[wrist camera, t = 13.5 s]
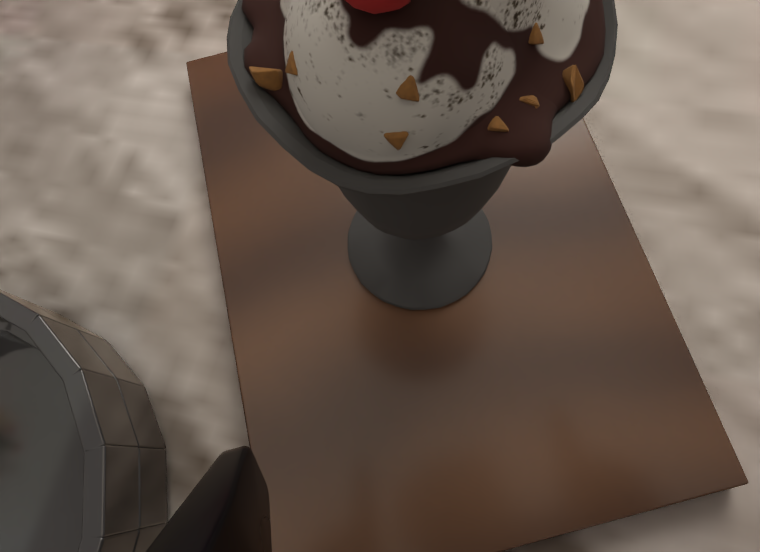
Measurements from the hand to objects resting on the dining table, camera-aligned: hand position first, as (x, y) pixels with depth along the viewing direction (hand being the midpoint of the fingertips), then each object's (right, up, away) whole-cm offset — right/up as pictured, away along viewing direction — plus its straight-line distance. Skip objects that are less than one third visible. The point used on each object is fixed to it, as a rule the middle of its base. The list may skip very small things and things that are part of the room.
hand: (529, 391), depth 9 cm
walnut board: (-1, +3, +11) cm, 12 cm away
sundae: (-1, +3, +10) cm, 11 cm away
